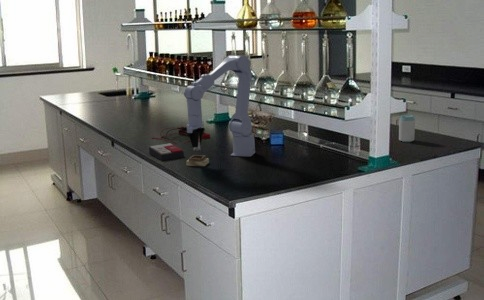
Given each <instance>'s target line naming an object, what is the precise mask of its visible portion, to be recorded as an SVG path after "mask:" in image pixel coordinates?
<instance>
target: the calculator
mask: <svg viewBox="0 0 484 300" xmlns="http://www.w3.org/2000/svg"><path fill="white" fill-rule="evenodd" d="M148 151H149V156H150V155H151V156H152V157H155V158H156V159H158V160H160V161H167V160H173V159H178V158H184V157H185V155H184V154H185V151H184V150H183V149H181V148H180V147H178V146H176V144H175V145H174V144H172V143H164V144H163V143H162V144H157V145H151V146H149V147H148Z"/></svg>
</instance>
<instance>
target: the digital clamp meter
mask: <svg viewBox="0 0 484 300" xmlns="http://www.w3.org/2000/svg"><path fill="white" fill-rule="evenodd" d="M187 128H188V127H186V126H180V127H179V126H178V127H176V128H171V129H170V127H166V128H164V129H162V130H161V132H160V137H159V138H157V137H151V140H162V141H166V142H167V141H169V142H172V143H173V144H175V145H177V144H178V143H177V142H176V141H173V140H176V139H177V140H178V141H179V142H180V143H182V145H184V144H188V143H191V140H190V139H189V140H188V141H185V142H183V141H181V140H180V138H178V136H174V137H173V138H171V139H170V138H168V137H169V136H172V135H176V134H178V135H180V134H181V136H184V137H189V136H188V134H187ZM168 129H170V130H168ZM165 130H168V131H167V132H166V134H165V136H166V137H165V136H162V133H163V132H164V131H165ZM174 130H175V131H176V130H178V132H175V133H171V134H168V133H169V132H170V131H174ZM175 138H176V139H175ZM210 138H211V134H210V133H206V132H205V131H204V132H203V135H202V140H204V139H205V140H206V139H207V140H208V139H210Z"/></svg>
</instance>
